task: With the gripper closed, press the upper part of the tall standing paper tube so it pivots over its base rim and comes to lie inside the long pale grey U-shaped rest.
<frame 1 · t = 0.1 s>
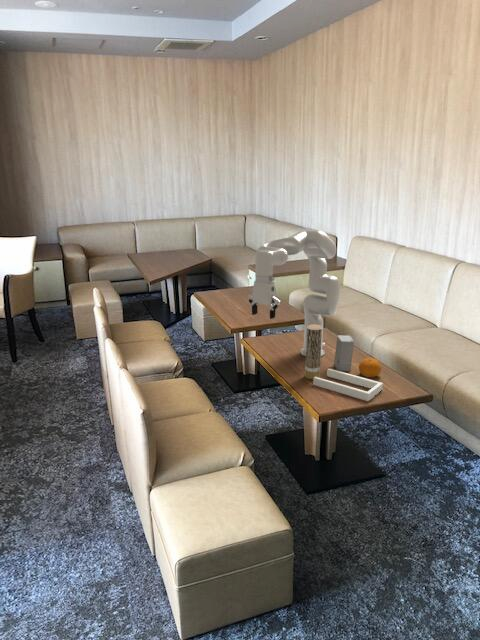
hand: (263, 316, 234), 31 cm above the table, tool pointing down, fingers open, 9 cm apart
fruit: (369, 375, 250), on the table
skincare box: (342, 368, 258), on the table
u-rest: (345, 387, 237), on the table
paper tube: (312, 377, 248), on the table
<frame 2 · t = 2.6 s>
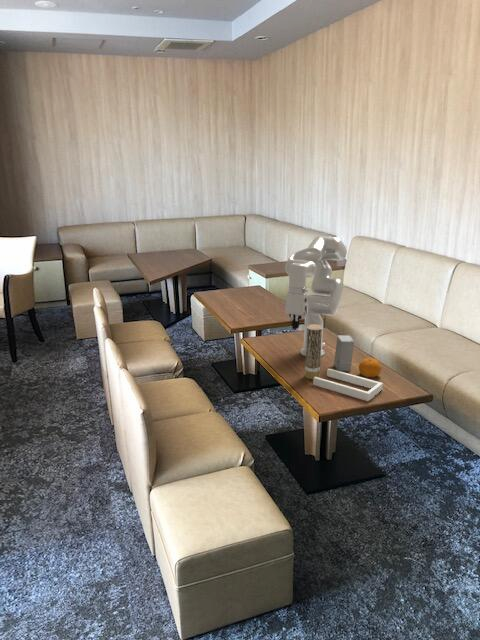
hand: (295, 328, 246), 22 cm above the table, tool pointing down, fingers closed
nothing on the table moved.
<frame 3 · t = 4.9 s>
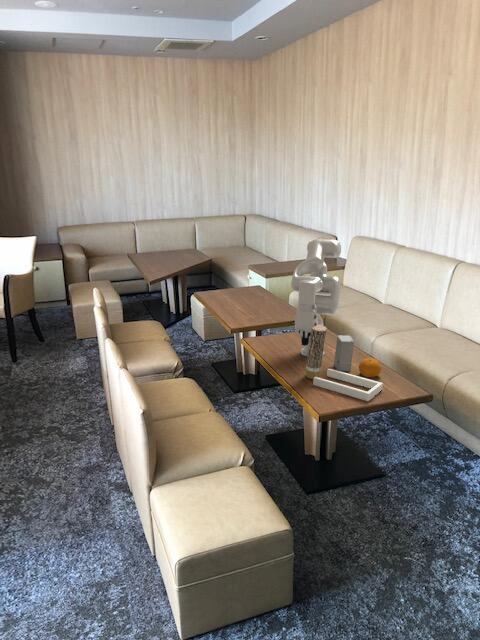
hand: (304, 344, 246), 15 cm above the table, tool pointing down, fingers closed
paper tube: (312, 377, 248), on the table, touching gripper
everything else where it was.
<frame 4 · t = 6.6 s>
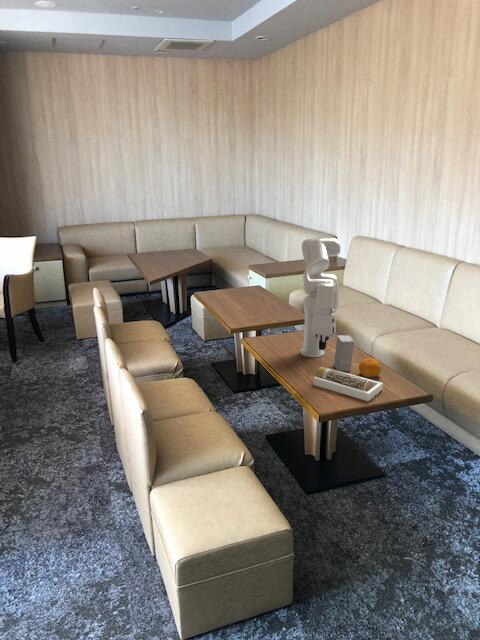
hand: (322, 349, 240), 15 cm above the table, tool pointing down, fingers closed
paper tube: (318, 373, 244), point 3 cm above the table
everything else where it was.
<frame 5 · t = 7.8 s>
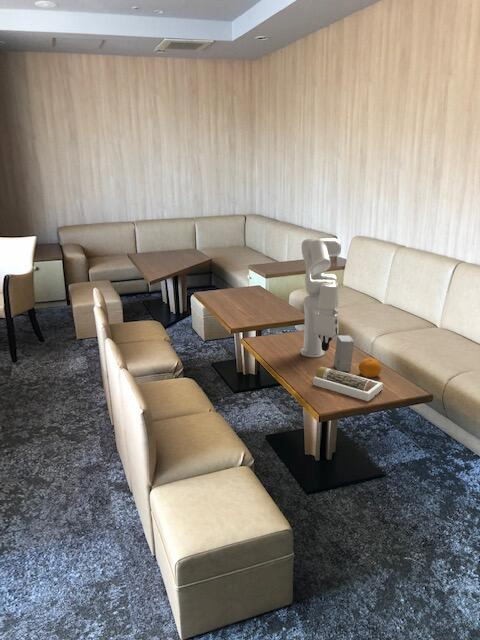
hand: (325, 349, 240), 15 cm above the table, tool pointing down, fingers closed
nothing on the table moved.
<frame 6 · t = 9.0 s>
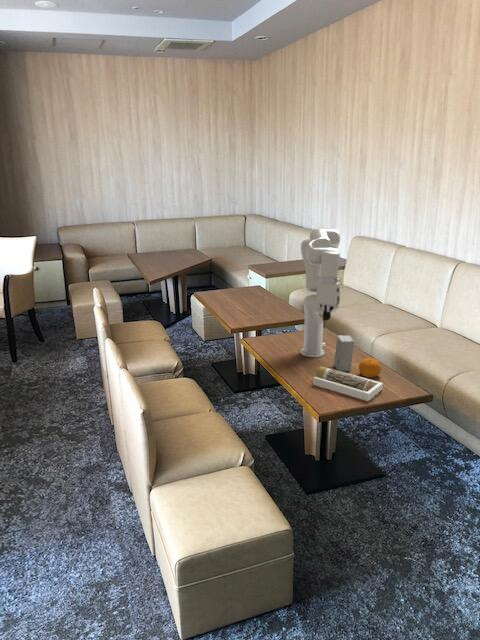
hand: (326, 319, 236), 29 cm above the table, tool pointing down, fingers closed
nothing on the table moved.
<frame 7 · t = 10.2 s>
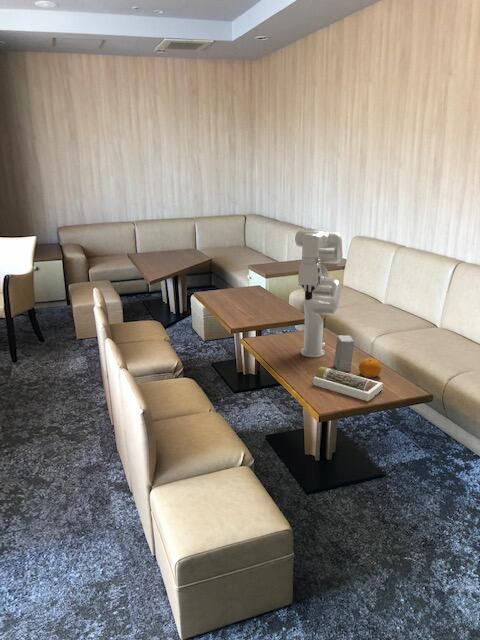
hand: (308, 299, 247), 35 cm above the table, tool pointing down, fingers closed
nothing on the table moved.
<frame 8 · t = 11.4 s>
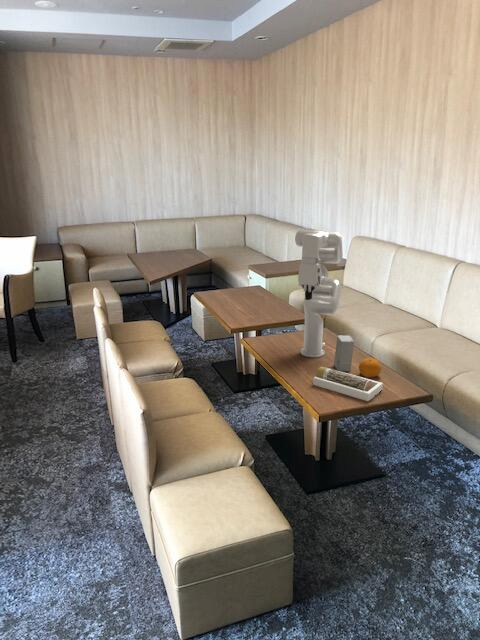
hand: (308, 299, 247), 35 cm above the table, tool pointing down, fingers closed
nothing on the table moved.
at the end: paper tube tilted 90°; paper tube inside the target area on the u-rest (3.8 cm from its centre), point 3.4 cm above the u-rest's base; the gripper is holding nothing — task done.
